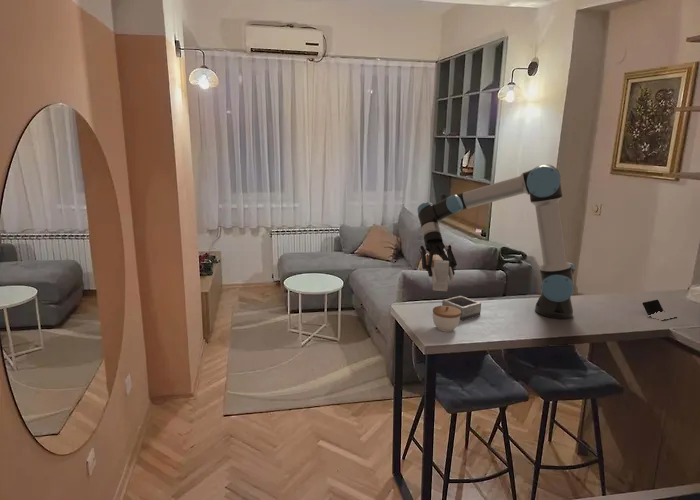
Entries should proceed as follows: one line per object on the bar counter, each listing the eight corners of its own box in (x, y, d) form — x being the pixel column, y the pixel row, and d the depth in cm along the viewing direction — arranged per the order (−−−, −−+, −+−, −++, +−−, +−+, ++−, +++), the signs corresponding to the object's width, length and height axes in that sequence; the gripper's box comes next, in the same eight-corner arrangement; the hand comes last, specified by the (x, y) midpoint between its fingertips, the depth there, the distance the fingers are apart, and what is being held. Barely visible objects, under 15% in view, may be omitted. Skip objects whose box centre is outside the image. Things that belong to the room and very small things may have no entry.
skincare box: (447, 288, 194) (449, 260, 191) (447, 291, 190) (449, 263, 187) (432, 287, 195) (434, 259, 193) (432, 290, 191) (433, 262, 189)
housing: (480, 315, 199) (481, 303, 198) (462, 320, 192) (463, 308, 191) (459, 307, 208) (460, 295, 207) (441, 312, 201) (442, 300, 200)
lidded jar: (464, 333, 180) (466, 310, 178) (439, 335, 177) (441, 312, 175) (451, 322, 190) (452, 300, 188) (427, 324, 187) (428, 302, 185)
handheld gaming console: (667, 319, 196) (656, 296, 200) (650, 324, 201) (639, 302, 205) (678, 317, 203) (667, 296, 206) (661, 323, 208) (650, 302, 212)
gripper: (451, 239, 205) (463, 286, 193) (407, 240, 202) (417, 287, 190) (456, 229, 199) (470, 277, 187) (412, 230, 195) (422, 279, 184)
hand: (443, 282), depth 188 cm, fingers closed on skincare box, 7 cm apart
